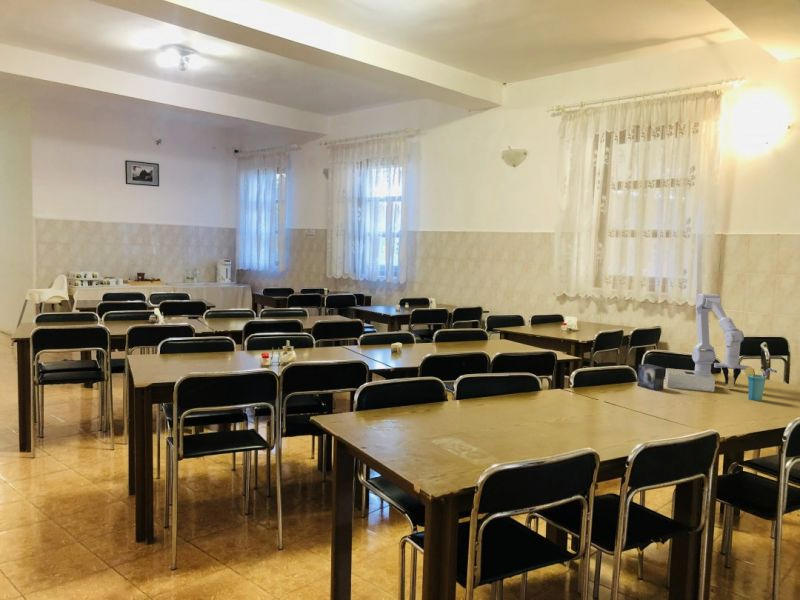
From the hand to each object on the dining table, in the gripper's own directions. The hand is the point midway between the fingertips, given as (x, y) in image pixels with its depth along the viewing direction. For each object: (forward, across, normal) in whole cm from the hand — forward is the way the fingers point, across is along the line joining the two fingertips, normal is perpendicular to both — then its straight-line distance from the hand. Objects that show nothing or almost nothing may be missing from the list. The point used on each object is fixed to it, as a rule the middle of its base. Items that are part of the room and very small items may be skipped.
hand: (730, 383), depth 294 cm
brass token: (+2, 0, 0) cm, 2 cm away
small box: (+3, -36, -15) cm, 39 cm away
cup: (+3, +8, -19) cm, 21 cm away
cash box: (+3, -18, -2) cm, 18 cm away
